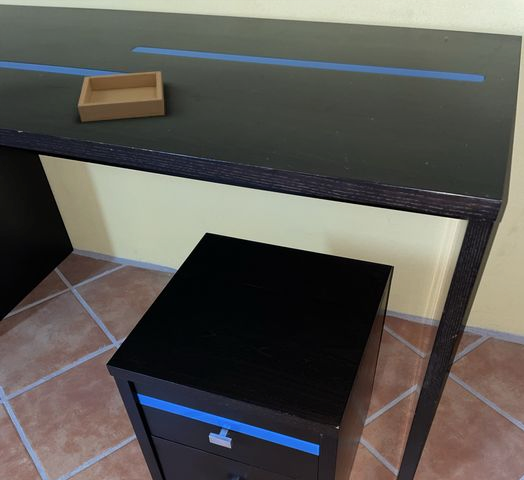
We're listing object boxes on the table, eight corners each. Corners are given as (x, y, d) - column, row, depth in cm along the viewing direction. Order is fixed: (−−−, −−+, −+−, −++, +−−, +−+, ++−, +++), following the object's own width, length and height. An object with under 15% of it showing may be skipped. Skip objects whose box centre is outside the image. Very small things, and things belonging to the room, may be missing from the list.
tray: (82, 123, 80) (77, 106, 78) (88, 93, 88) (84, 76, 86) (164, 116, 81) (162, 99, 79) (163, 87, 89) (160, 71, 87)
